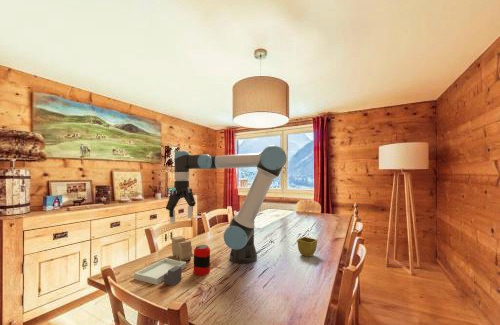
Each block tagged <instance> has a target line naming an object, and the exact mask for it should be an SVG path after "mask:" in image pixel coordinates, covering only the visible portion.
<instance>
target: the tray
mask: <svg viewBox="0 0 500 325" xmlns="http://www.w3.org/2000/svg"><path fill="white" fill-rule="evenodd" d="M175 266H179V267H181V271H183V270H184V269H185V268H187V262H186V261H180V260H179V259H178V260H176V259H172V258H166V257H165V258H163V259H161V260H159V261H157V262H154V263H152V264H150V265H148V266H146V267H144V268H142V269H140V270H137V271H135V272H134V273H133V279H134V280H137V281H141V282H144V283H149V284H153V285H156V286H157V285H159V284H161V283H162V282H164V274H165V273H167V272H168V270H169V269H171V268H173V267H175Z"/></svg>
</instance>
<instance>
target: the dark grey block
mask: <svg viewBox="0 0 500 325" xmlns="http://www.w3.org/2000/svg"><path fill="white" fill-rule="evenodd" d="M181 281H182V270H181V267H179V266H175V267H173V268H171V269H169V270H168V272H167V273H165V274H164V281H163V284H165V285H168V286H171V287H175V286H176V285H177V284H178V283H180V282H181Z"/></svg>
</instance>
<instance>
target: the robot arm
mask: <svg viewBox="0 0 500 325" xmlns="http://www.w3.org/2000/svg"><path fill="white" fill-rule="evenodd" d="M173 160H174V180H175V181H174V182H173V183H174V187H173V188H175V189H174V190H173V189H172V190H170V195H169V197H168V201H167V203H166V207H165V210H166V211H169V212H168V213H169V214H168V216H169V223H170V224H176V210H175V208H176V207H177V204H178V203H179V201H180V200H181V199H184V200H185V202H186V203H187V204H188V206H187V219H193V218H194V217H193V212H194V207H195V206H196V204H197V203H196V199H195V196H194V194H193V188H189V187H190V170H217V169H218V170H220V169H240V168H241V169H242V168H244V169H245V168H256V169H257V173H256V174H255V176H254V179H253V181H252V183H251V185H250V187H249V190H248V192H247V194H246V196H245V198H244V200H243V203H242V205H241V206H240V209H239V211H238V213H237V214H236V215H233V217H232V219H231V221H230V223H229V225H228V227H226V229H225V231H224V232H223V241H224V243H225V245H226V246H227V247H228V248H229V249H231V250H230V253H229V259H230V261H231V262H233V263H237V264H249V263H254V262H256V261H257V260H258V252H257V249H256V247H255V246H256V245H255V227H256V226H255V220H256V218H257V215H258V213H259V211H260V209H261V207H262V205H263V203H264V200H265V199H266V196H267V194H268V192H269V190H270V188H271V185H272V184H273V181H274V179H276V178H279V176H280V174H281V172H282V170H283V168H284V166H285V165H286V164H287V161H288V160H287V154H286V152H285V150H284V149H283V148H282V147H280V146H278V145H276V144H275V145H274V144H272V145H271V144H270V145H268V146H265V148H264V149H263V150H262V151H260V152H259V153H242V154H225V155H210V154H205V153H202V154H190V152H189V151H188V150H187V151H185V150H179V151H178V150H177V151H175V153H174V159H173Z"/></svg>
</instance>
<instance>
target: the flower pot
mask: <svg viewBox="0 0 500 325" xmlns="http://www.w3.org/2000/svg"><path fill="white" fill-rule="evenodd" d="M296 241H297V242H296V243H297V249H298V253H300V256H303V257H306V258H311V257H313V256H314V254H315V252H316V251H317V246H318V239H315V238H311V237H307V236H303V237H301V238H298V239H297V240H296Z"/></svg>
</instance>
